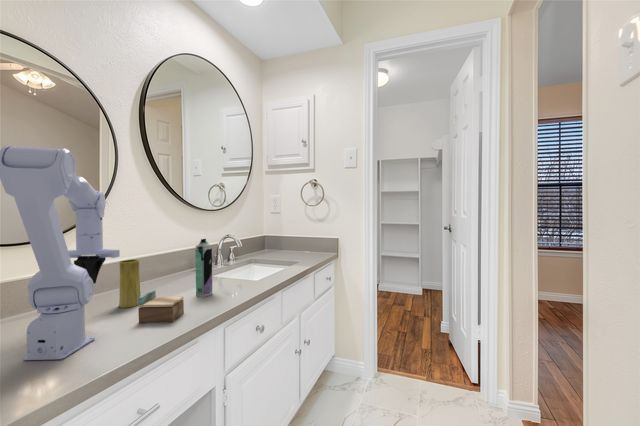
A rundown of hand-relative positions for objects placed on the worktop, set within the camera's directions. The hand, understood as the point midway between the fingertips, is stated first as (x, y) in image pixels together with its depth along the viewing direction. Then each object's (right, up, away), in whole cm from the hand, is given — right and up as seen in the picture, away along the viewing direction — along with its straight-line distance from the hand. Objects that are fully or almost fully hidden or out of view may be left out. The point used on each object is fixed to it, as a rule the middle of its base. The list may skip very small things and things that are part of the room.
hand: (90, 284), depth 80 cm
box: (+18, -10, +3) cm, 21 cm away
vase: (+1, -10, +14) cm, 18 cm away
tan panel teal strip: (+18, -6, +3) cm, 19 cm away
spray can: (+21, -10, +25) cm, 34 cm away
